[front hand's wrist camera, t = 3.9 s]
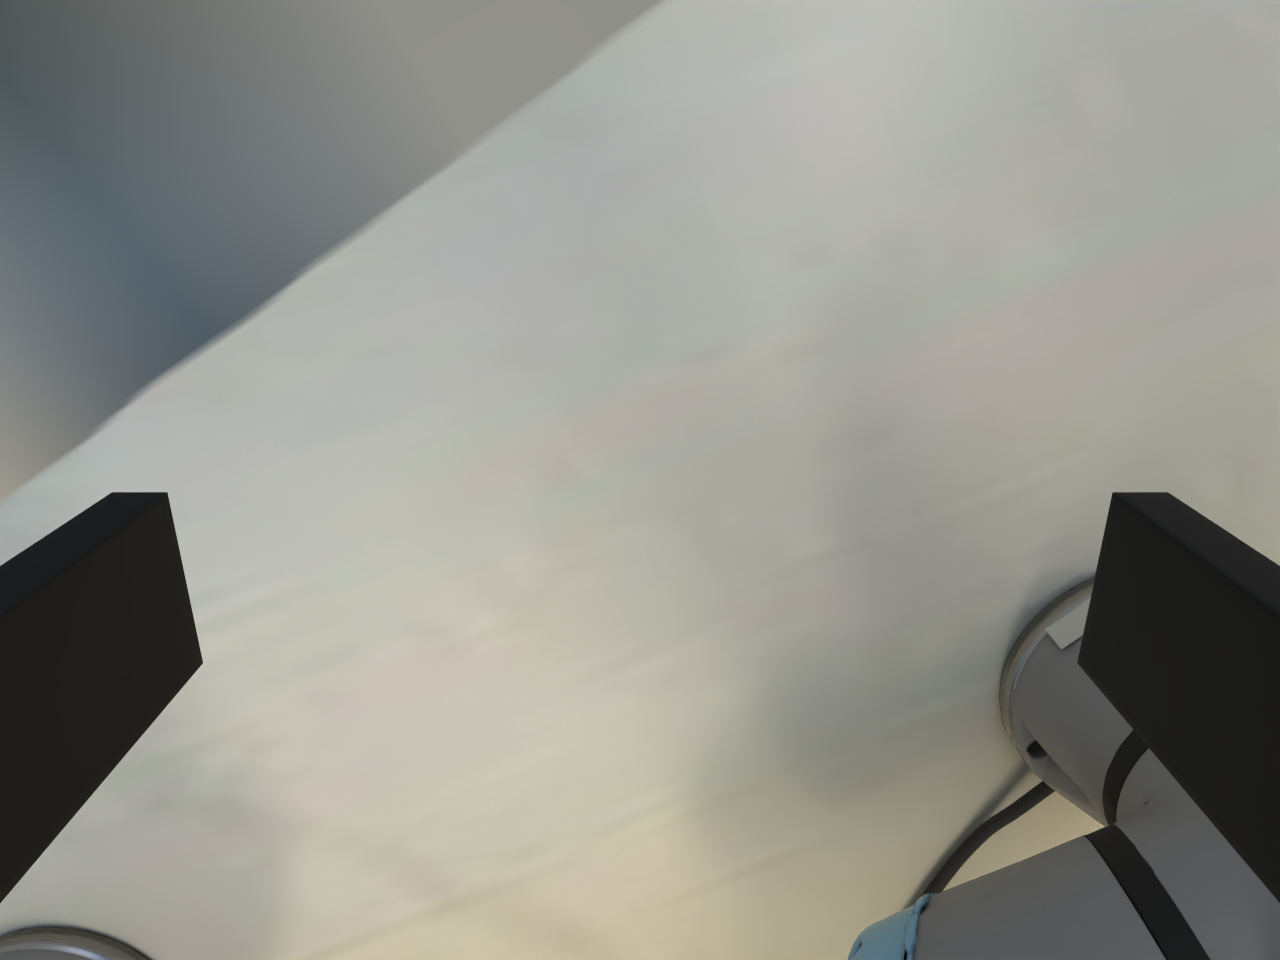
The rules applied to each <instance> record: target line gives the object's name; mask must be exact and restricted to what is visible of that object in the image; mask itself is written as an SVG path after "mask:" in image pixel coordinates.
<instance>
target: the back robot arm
mask: <svg viewBox="0 0 1280 960" xmlns="http://www.w3.org/2000/svg"><path fill="white" fill-rule="evenodd" d="M0 960H148V959H147V958H145V957H144V956H142V955H141V954H139V953H138V952H136V951H134V950H132V949H131V948H129V947H127V946H125V945H123V944H121V943H119V942H116V941H114V940H111V939H109V938H106V937H103V936H100V935H97V934H93V933H89V932H85V931H80V930H75V929H67V928H54V927H43V928H31V929H24V930H19V931H15V932H12V933H8V934H5V935H3V936H0Z"/></svg>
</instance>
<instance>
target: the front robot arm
mask: <svg viewBox="0 0 1280 960" xmlns="http://www.w3.org/2000/svg"><path fill="white" fill-rule="evenodd" d="M202 663H203V661H202V656H201V651H200V647H199V642H198V637H197V632H196V627H195V623H194V618H193V613H192V608H191V604H190V599H189V594H188V589H187V584H186V580H185V575H184V570H183V565H182V560H181V556H180V551H179V546H178V541H177V536H176V532H175V527H174V522H173V517H172V512H171V508H170V503H169V498H168V493H167V492H112V493H111V494H109V495H108V496H106V497H105V498H103V499H101V500H100V501H98V502H97V503H95V504H94V505H92V506H91V507H89V508H88V509H86V510H85V511H83V512H82V513H80V514H79V515H77V516H76V517H74V518H73V519H71V520H70V521H68V522H67V523H65V524H63V525H62V526H60V527H59V528H57V529H56V530H54V531H53V532H51V533H50V534H48V535H47V536H45V537H44V538H42V539H41V540H39V541H38V542H36V543H35V544H33V545H32V546H30V547H29V548H27V549H26V550H24V551H22V552H21V553H19V554H18V555H16V556H15V557H13V558H12V559H10V560H9V561H7V562H6V563H4V564H3V565H1V566H0V903H1V902H2V900H3V899H4V898H5V897H6V896H7V895H8V893H9V892H10V891H11V890H12V889H13V887H14V886H15V885H16V884H17V883H18V881H19V880H20V879H21V878H22V877H23V876H24V874H25V873H26V872H27V871H28V870H29V868H30V867H31V866H32V865H33V864H34V863H35V861H36V860H37V859H38V858H39V857H40V855H41V854H42V853H43V852H44V851H45V849H46V848H47V847H48V846H49V845H50V844H51V842H52V841H53V840H54V839H55V838H56V836H57V835H58V834H59V833H60V832H61V831H62V829H63V828H64V827H65V826H66V825H67V823H68V822H69V821H70V820H71V819H72V818H73V816H74V815H75V814H76V813H77V812H78V810H79V809H80V808H81V807H82V806H83V804H84V803H85V802H86V801H87V800H88V799H89V797H90V796H91V795H92V794H93V793H94V791H95V790H96V789H97V788H98V787H99V786H100V784H101V783H102V782H103V781H104V780H105V778H106V777H107V776H108V775H109V774H110V772H111V771H112V770H113V769H114V768H115V767H116V765H117V764H118V763H119V762H120V761H121V759H122V758H123V757H124V756H125V755H126V754H127V752H128V751H129V750H130V749H131V748H132V746H133V745H134V744H135V743H136V742H137V740H138V739H139V738H140V737H141V736H142V735H143V733H144V732H145V731H146V730H147V729H148V727H149V726H150V725H151V724H152V723H153V722H154V720H155V719H156V718H157V717H158V716H159V714H160V713H161V712H162V711H163V710H164V708H165V707H166V706H167V705H168V704H169V703H170V701H171V700H172V699H173V698H174V697H175V695H176V694H177V693H178V692H179V691H180V690H181V688H182V687H183V686H184V685H185V684H186V682H187V681H188V680H189V679H190V678H191V677H192V675H193V674H194V673H195V672H196V671H197V669H198V668H199V667H200V666H201V665H202ZM1000 709H1001V714H1002V719H1003V722H1004V725H1005V728H1006V730H1007V733H1008V735H1009V737H1010V739H1011V740H1012V742H1013V743H1014V745H1015V747H1016V748H1017V750H1018V751H1019V753H1020V755H1021V756H1022V758H1023V759H1024V761H1025V763H1026V764H1027V765H1028V766H1029V768H1030V769H1031V770H1032V771H1033V772H1034V773H1035V774H1036V775H1037V776H1038V777H1039V778H1040V779H1041V780H1043V781H1042V782H1041V783H1039V784H1038V785H1037V786H1035V787H1034V788H1033V789H1031V790H1030V791H1029V792H1027V793H1026V794H1025V795H1023V796H1022V797H1021V798H1019V799H1018V800H1017V801H1015V802H1014V803H1013V804H1011V805H1010V806H1008V807H1007V808H1005V809H1004V810H1002V811H1000V812H999V813H997V814H996V815H994V816H993V817H991V818H990V819H988V820H987V821H986V822H984V823H983V824H982V825H981V826H980V827H979V828H978V829H976V830H975V831H974V832H973V833H972V834H971V835H970V836H969V837H968V838H967V839H966V840H965V841H964V842H963V844H962V845H961V846H960V847H959V848H958V849H957V850H956V851H955V852H954V854H953V855H952V856H951V857H950V858H949V860H948V861H947V862H946V863H945V865H944V866H943V867H942V869H941V870H940V871H939V872H938V874H937V875H936V877H935V878H934V879H933V881H932V882H931V884H930V885H929V886H928V888H927V889H926V891H925V892H924V893H923V895H922V896H921V897H920V898H919V899H918V900H917V901H916V902H915V904H914V905H912V906H910V907H908V908H906V909H904V910H902V911H900V912H898V913H896V914H894V915H891V916H889V917H887V918H885V919H883V920H881V921H879V922H876V923H874V924H872V925H870V926H869V927H867V928H866V929H865V930H864V931H862V932H861V933H860V935H859V936H858V937H857V939H856V940H855V942H854V944H853V946H852V949H851V952H850V954H849V957H848V960H1280V566H1279V565H1277V564H1276V563H1274V562H1273V561H1271V560H1270V559H1268V558H1267V557H1265V556H1264V555H1262V554H1261V553H1259V552H1258V551H1256V550H1254V549H1253V548H1251V547H1250V546H1248V545H1247V544H1245V543H1244V542H1242V541H1241V540H1239V539H1238V538H1236V537H1235V536H1233V535H1232V534H1230V533H1229V532H1227V531H1226V530H1224V529H1223V528H1221V527H1220V526H1218V525H1217V524H1215V523H1213V522H1212V521H1210V520H1209V519H1207V518H1206V517H1204V516H1203V515H1201V514H1200V513H1198V512H1197V511H1195V510H1194V509H1192V508H1191V507H1189V506H1188V505H1186V504H1185V503H1183V502H1182V501H1180V500H1179V499H1177V498H1175V497H1174V496H1172V495H1171V494H1169V493H1168V492H1113V493H1112V498H1111V503H1110V508H1109V512H1108V517H1107V522H1106V527H1105V532H1104V536H1103V541H1102V546H1101V551H1100V556H1099V560H1098V565H1097V570H1096V575H1095V577H1094V578H1092V579H1090V580H1087V581H1085V582H1083V583H1081V584H1080V585H1078V586H1076V587H1074V588H1072V589H1071V590H1069V591H1067V592H1066V593H1064V594H1063V595H1061V596H1060V597H1058V598H1057V599H1056V600H1054V601H1053V602H1052V603H1050V604H1049V605H1048V606H1047V607H1046V608H1045V609H1044V610H1043V611H1041V612H1040V613H1039V614H1038V615H1037V616H1036V617H1035V619H1034V620H1033V621H1032V622H1031V623H1030V624H1029V625H1028V627H1027V628H1026V629H1025V630H1024V632H1023V633H1022V634H1021V636H1020V637H1019V639H1018V640H1017V642H1016V644H1015V645H1014V647H1013V649H1012V651H1011V653H1010V655H1009V658H1008V660H1007V663H1006V665H1005V668H1004V672H1003V675H1002V681H1001V686H1000ZM1054 791H1056V792H1058V793H1059V794H1060V795H1062V796H1063V797H1065V798H1066V799H1067V800H1069V801H1070V802H1072V803H1073V804H1074V805H1076V806H1077V807H1078V808H1080V809H1081V810H1083V811H1084V812H1085V813H1087V814H1088V815H1090V816H1091V817H1092V818H1094V819H1095V820H1097V821H1098V822H1099V823H1101V824H1102V825H1104V826H1105V828H1102V829H1100V830H1097V831H1095V832H1092V833H1090V834H1088V835H1084V836H1081V837H1078V838H1076V839H1074V840H1071V841H1069V842H1066V843H1064V844H1061V845H1059V846H1056V847H1054V848H1052V849H1049V850H1047V851H1044V852H1042V853H1039V854H1037V855H1034V856H1032V857H1030V858H1027V859H1025V860H1022V861H1020V862H1017V863H1015V864H1012V865H1010V866H1007V867H1004V868H1002V869H999V870H997V871H994V872H992V873H989V874H986V875H984V876H981V877H979V878H976V879H974V880H971V881H968V882H966V883H963V884H961V885H958V886H956V887H953V888H950V889H948V890H945V891H943V889H944V888H945V887H946V885H947V884H948V883H949V881H950V880H951V879H952V877H953V876H954V875H955V873H956V872H957V871H958V870H959V869H960V867H961V866H962V865H963V864H964V863H965V862H966V860H967V859H968V858H969V857H970V856H971V855H972V854H973V853H974V852H975V851H976V850H977V849H978V848H979V847H980V846H981V845H982V844H983V843H984V842H985V841H986V840H987V839H988V838H989V837H990V836H992V835H993V834H994V833H995V832H997V831H998V830H999V829H1001V828H1002V827H1004V826H1006V825H1007V824H1009V823H1010V822H1012V821H1014V820H1015V819H1017V818H1018V817H1020V816H1021V815H1023V814H1024V813H1025V812H1027V811H1028V810H1030V809H1031V808H1032V807H1034V806H1035V805H1036V804H1038V803H1039V802H1041V801H1042V800H1043V799H1045V798H1046V797H1047V796H1049V795H1050V794H1051V793H1053V792H1054ZM942 891H943V892H942Z"/></svg>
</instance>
